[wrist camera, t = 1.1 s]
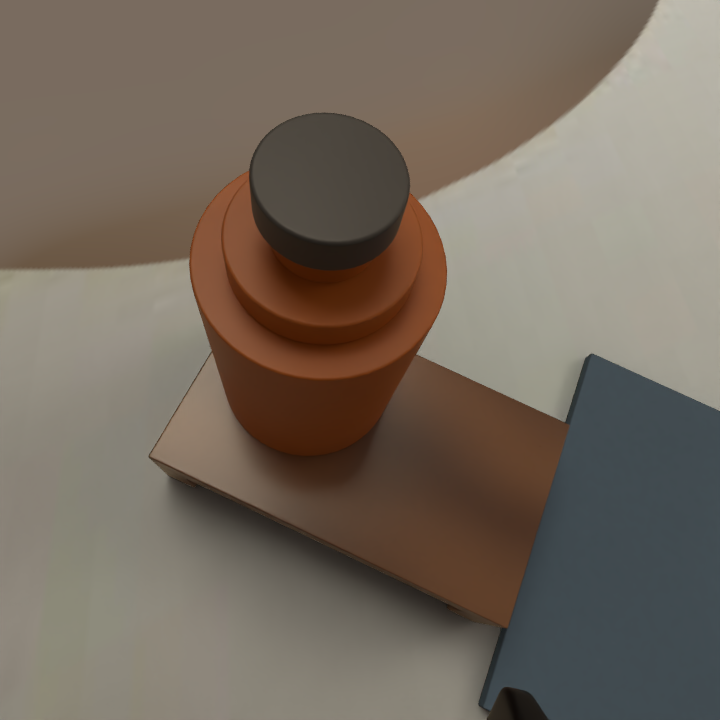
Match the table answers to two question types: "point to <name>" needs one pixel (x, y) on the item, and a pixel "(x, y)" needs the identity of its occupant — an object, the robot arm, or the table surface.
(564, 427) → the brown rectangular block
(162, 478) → the table surface
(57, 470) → the table surface
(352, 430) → the amber bottle
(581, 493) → the placemat
